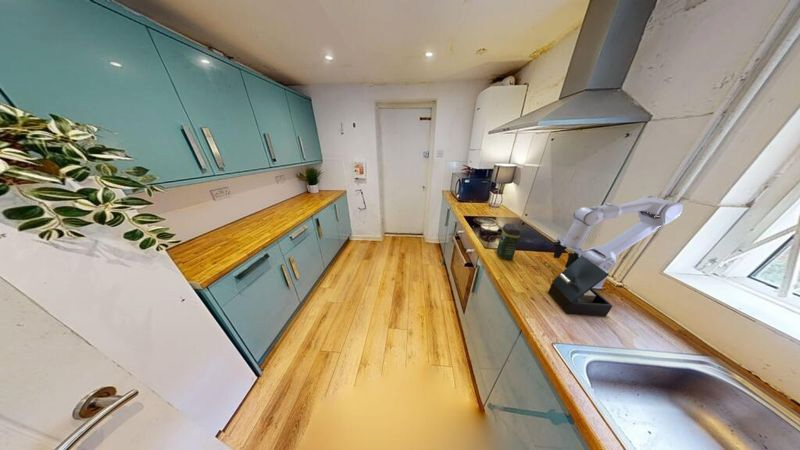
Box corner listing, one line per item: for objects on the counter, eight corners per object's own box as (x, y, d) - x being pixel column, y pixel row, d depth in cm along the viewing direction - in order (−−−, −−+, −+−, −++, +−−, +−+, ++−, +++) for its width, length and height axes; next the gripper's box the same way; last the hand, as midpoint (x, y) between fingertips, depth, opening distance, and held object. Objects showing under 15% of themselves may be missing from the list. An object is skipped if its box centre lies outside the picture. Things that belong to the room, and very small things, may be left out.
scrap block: (582, 295, 83) (587, 287, 81) (591, 304, 79) (596, 295, 77) (572, 295, 83) (576, 287, 81) (580, 303, 79) (584, 295, 77)
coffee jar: (514, 261, 106) (524, 230, 99) (499, 259, 108) (507, 228, 100) (509, 251, 115) (517, 222, 107) (494, 250, 116) (502, 221, 108)
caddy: (582, 294, 85) (587, 284, 82) (605, 316, 74) (612, 305, 72) (547, 292, 85) (552, 282, 83) (566, 314, 75) (572, 303, 72)
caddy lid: (583, 255, 77) (574, 250, 76) (609, 274, 66) (599, 268, 66) (553, 281, 83) (544, 277, 82) (573, 302, 72) (563, 297, 72)
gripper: (555, 227, 89) (543, 252, 95) (579, 243, 76) (564, 271, 82) (570, 229, 89) (557, 254, 95) (598, 245, 76) (581, 273, 81)
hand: (561, 262), depth 88 cm, fingers open, 7 cm apart
